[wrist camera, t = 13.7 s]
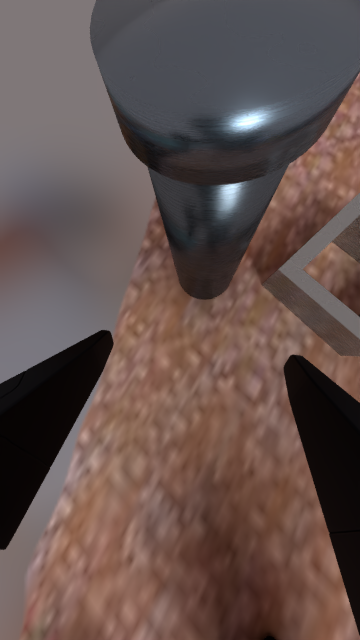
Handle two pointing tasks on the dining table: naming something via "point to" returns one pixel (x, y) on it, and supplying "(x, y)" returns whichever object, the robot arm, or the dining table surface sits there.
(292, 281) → the gray square frame
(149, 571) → the dining table surface
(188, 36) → the dark grey metal cylinder
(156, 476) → the dining table surface
